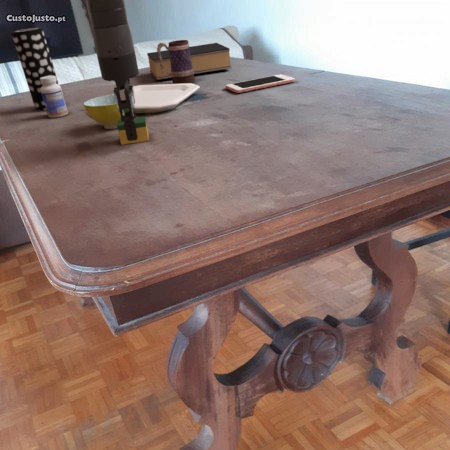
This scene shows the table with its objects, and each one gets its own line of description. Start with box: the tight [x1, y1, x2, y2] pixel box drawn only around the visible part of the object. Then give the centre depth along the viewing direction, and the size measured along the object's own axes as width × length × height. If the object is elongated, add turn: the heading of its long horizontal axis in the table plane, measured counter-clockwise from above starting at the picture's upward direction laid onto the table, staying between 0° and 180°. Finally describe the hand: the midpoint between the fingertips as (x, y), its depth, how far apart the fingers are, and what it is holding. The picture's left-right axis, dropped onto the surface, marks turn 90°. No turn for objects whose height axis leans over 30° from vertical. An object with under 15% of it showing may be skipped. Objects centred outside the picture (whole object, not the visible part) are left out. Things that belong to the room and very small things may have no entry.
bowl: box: [83, 93, 125, 130], centre depth 113 cm, size 11×12×6 cm
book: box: [146, 42, 232, 82], centre depth 160 cm, size 17×25×7 cm
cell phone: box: [225, 73, 296, 94], centre depth 134 cm, size 9×18×1 cm, turn 112°
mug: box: [156, 39, 196, 84], centre depth 144 cm, size 10×7×12 cm
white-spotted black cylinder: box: [10, 26, 60, 112], centre depth 134 cm, size 8×8×20 cm
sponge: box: [116, 116, 150, 146], centre depth 103 cm, size 6×4×4 cm
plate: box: [111, 83, 201, 114], centre depth 130 cm, size 25×25×2 cm
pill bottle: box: [40, 76, 69, 119], centre depth 127 cm, size 5×5×10 cm
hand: (132, 134), depth 103 cm, fingers open, 8 cm apart
